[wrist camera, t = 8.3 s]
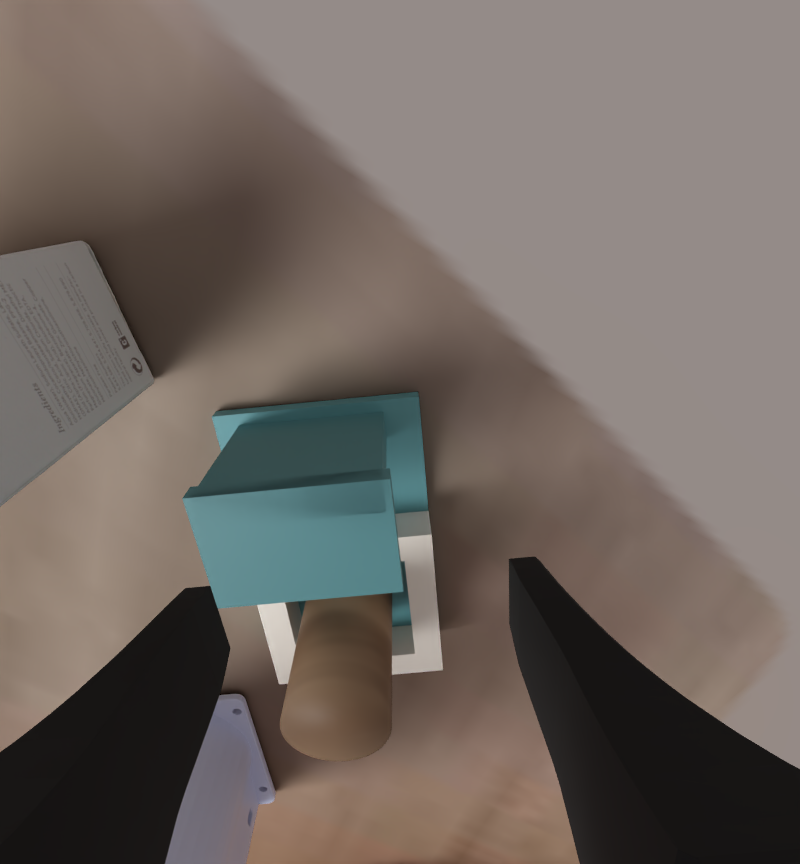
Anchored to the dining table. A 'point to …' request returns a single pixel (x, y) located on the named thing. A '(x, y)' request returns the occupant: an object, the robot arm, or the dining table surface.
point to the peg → (341, 679)
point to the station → (321, 518)
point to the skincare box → (59, 358)
